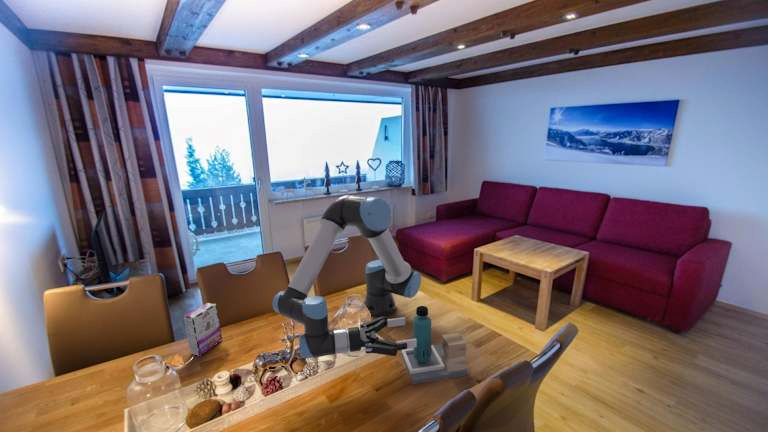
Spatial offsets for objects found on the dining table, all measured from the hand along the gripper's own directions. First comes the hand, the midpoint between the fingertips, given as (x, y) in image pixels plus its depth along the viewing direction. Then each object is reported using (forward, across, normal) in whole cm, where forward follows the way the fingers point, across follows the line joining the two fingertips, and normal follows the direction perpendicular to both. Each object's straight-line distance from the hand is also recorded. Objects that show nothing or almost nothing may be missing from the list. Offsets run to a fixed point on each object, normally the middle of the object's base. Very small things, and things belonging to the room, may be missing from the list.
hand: (410, 331), depth 113 cm
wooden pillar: (+14, +5, -12) cm, 19 cm away
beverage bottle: (+4, 0, -12) cm, 13 cm away
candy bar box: (-75, -30, -14) cm, 81 cm away
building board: (+8, +1, -14) cm, 16 cm away
